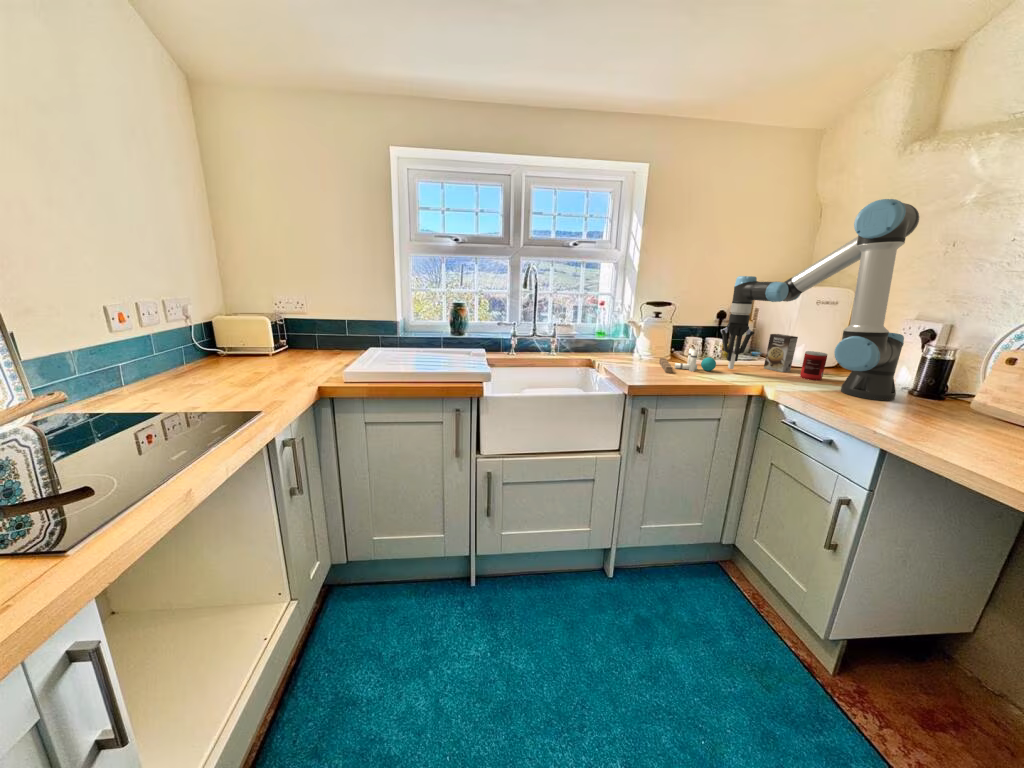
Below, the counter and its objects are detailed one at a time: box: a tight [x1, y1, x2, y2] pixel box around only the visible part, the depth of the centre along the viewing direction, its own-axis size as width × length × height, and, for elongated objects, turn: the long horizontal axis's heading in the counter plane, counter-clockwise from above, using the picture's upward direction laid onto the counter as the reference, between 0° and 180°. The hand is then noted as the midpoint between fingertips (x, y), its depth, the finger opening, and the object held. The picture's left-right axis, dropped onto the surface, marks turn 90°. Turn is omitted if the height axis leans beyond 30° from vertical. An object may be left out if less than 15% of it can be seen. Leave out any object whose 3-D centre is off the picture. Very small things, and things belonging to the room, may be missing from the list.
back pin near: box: [688, 349, 699, 372], centre depth 179 cm, size 2×2×9 cm
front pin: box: [674, 362, 698, 371], centre depth 183 cm, size 2×2×9 cm
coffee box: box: [763, 333, 799, 373], centre depth 187 cm, size 9×6×16 cm
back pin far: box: [686, 347, 696, 364], centre depth 184 cm, size 2×2×9 cm
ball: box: [700, 357, 717, 372], centre depth 181 cm, size 6×6×6 cm
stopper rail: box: [658, 357, 673, 374], centre depth 184 cm, size 22×2×2 cm, turn 168°
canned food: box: [799, 350, 828, 381], centre depth 172 cm, size 8×8×11 cm
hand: (730, 368), depth 179 cm, fingers closed
